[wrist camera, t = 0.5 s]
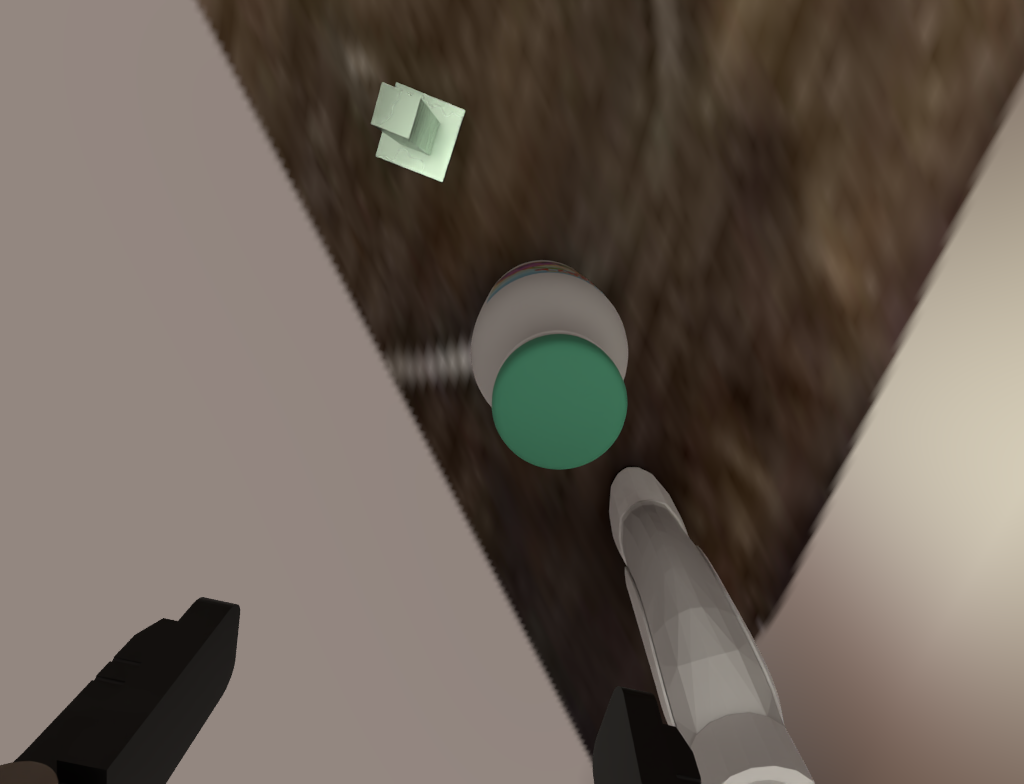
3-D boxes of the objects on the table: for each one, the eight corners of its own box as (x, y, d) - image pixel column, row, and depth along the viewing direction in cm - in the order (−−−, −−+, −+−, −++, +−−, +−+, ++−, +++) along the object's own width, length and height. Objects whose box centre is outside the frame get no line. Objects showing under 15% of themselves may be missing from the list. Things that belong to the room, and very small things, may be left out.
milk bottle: (571, 388, 39) (619, 544, 19) (468, 348, 38) (412, 470, 19) (616, 284, 37) (719, 344, 17) (508, 241, 36) (492, 253, 17)
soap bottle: (731, 574, 43) (984, 992, 19) (635, 602, 44) (765, 1033, 20) (688, 426, 39) (932, 715, 16) (585, 459, 40) (672, 779, 17)
